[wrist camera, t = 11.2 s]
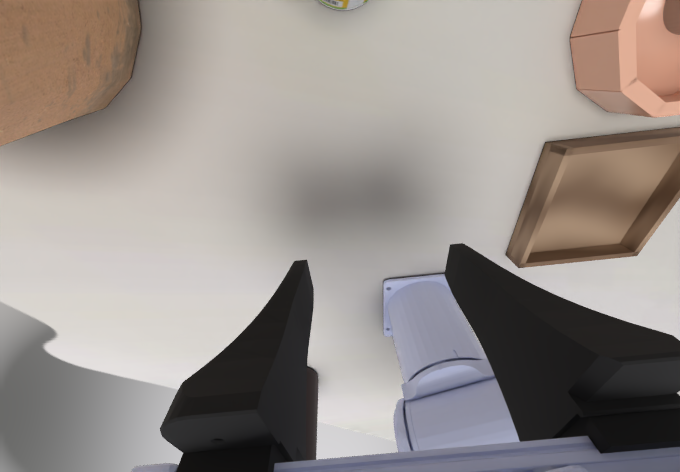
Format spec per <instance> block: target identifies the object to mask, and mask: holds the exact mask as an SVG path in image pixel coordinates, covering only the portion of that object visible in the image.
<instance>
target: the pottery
mask: <svg viewBox="0 0 680 472" xmlns="http://www.w3.org/2000/svg"><path fill="white" fill-rule="evenodd" d="M140 32H141V24H140V16H139V9H138V1H137V0H0V146H2V145H4V144H7V143H10V142H12V141H15V140H18V139H20V138H23V137H26V136H28V135H31V134H34V133H36V132H39V131H42V130H44V129H47V128H50V127H52V126H55V125H58V124H60V123H63V122H65V121H68V120H71V119H74V118H77V117H80V116H83V115H86V114H89V113H92V112H95V111H98V110H101V109H104V108H106V106H107V105H108V104H109V103H110V102H111V101H112V99H113V98H114V97H115V96H116V95H117V94H118V92H119V91H120V90H121V89H122V88H123V86H124V85H125V84H126V83H127V82H128V81H129V79H130V78H131V74H132V69H133V64H134V60H135V55H136V50H137V46H138V41H139V36H140Z"/></svg>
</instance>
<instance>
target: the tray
mask: <svg viewBox="0 0 680 472" xmlns="http://www.w3.org/2000/svg"><path fill="white" fill-rule="evenodd" d="M679 198H680V127H676V128H667V129H658V130H649V131H640V132H632V133H623V134H614V135H605V136H596V137H587V138H579V139H570V140H561V141H552V142H545V145H544V148H543V151H542V153H541V156H540V159H539V162H538V165H537V168H536V170H535V173H534V176H533V179H532V182H531V185H530V187H529V190H528V193H527V196H526V199H525V202H524V204H523V207H522V210H521V213H520V216H519V219H518V221H517V224H516V227H515V230H514V233H513V236H512V238H511V241H510V244H509V247H508V250H507V252H506V256H507V257H508V258H509V259H510V260H511V261H512V262H513V263H514V264H515V265H516V266H517V267H518V268H524V267H533V266H543V265H553V264H563V263H572V262H582V261H592V260H602V259H611V258H621V257H631V256H637V255H638V254H639V252H640V251H641V250H642V248H643V247H644V246H645V244H646V243H647V241H648V240H649V239H650V237H651V236H652V235H653V233H654V232H655V231H656V229H657V228H658V227H659V225H660V224H661V222H662V221H663V220H664V218H665V217H666V216H667V214H668V213H669V212H670V210H671V209H672V208H673V206H674V205H675V203H676V202H677V201H678V199H679Z"/></svg>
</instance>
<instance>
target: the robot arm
mask: <svg viewBox="0 0 680 472" xmlns="http://www.w3.org/2000/svg"><path fill="white" fill-rule="evenodd" d="M387 287H389V288H387ZM455 299H456V301H457V303H458V305H459V306H460V308H461V310H462V312H463V313H464V315H465V317H466V318H467V320H468V322H469V323H470V325H471V327H472V328H473V330H474V332H475V334H476V336H477V338H478V339H479V341H480V343H481V345H480V343H479V342H478V340H477V338H476V336H475V335H474V333H473V331H472V329H471V328H470V326H469V324H468V322H467V320H466V319H465V317H464V315H463V313H462V312H461V310H460V308H459V306H458V305H457V303H456V301H455ZM312 314H313V284H312V280H311V276H310V271H309V267H308V262H307V260H300V261H295V262H294V263H293V264H292V266H291V268H290V270H289V271H288V273H287V275H286V276H285V278H284V280H283V281H282V283H281V284H280V286H279V287H278V289H277V290H276V292H275V293H274V295H273V296H272V298H271V299H270V300H269V302H268V303H267V304H266V306H265V307H264V308H263V309H262V311H261V312H260V313H259V314H258V316H257V317H256V318H255V319H254V320H253V321H252V322H251V324H250V325H249V326H248V327H247V328H246V329H245V330H244V331H243V332H242V333H241V334H240V335H239V336H238V337H237V338H236V339H235V340H234V341H233V342H232V343H231V344H230V345H229V346H227V347H226V348H225V349H224V350H223V351H222V352H221V353H220V354H218V355H217V356H216V357H215V358H214V359H212V360H211V361H210V362H209V363H208V364H206V365H205V366H204V367H202V368H201V369H200V370H199V371H197V372H196V373H195V374H193V375H192V376H191V377H189V378H188V379H187V380H185V381H184V382H183V383H182V385H181V386H180V388H179V390H178V392H177V394H176V396H175V398H174V400H173V402H172V404H171V406H170V409H169V411H168V413H167V415H166V417H165V419H164V422H163V424H162V426H161V428H160V431H161V434H162V436H163V437H164V438H165V439H166V440H167V441H168V442H170V443H171V444H172V445H173V446H175V447H176V448H178V449H179V450H180V451H182V452H183V455H182V458H181V461H180V463H179V465H177V464H170V463H166V464H154V465H143V466H136V467H134V468H133V469H132V471H131V472H680V396H679V395H678V394H677V392H678V391H680V341H679V340H678V339H677V338H675V337H674V336H672V335H669V334H666V333H663V332H659V331H656V330H652V329H649V328H646V327H642V326H639V325H636V324H632V323H629V322H626V321H623V320H620V319H617V318H614V317H611V316H608V315H605V314H602V313H599V312H597V311H594V310H591V309H589V308H586V307H583V306H581V305H578V304H576V303H573V302H571V301H568V300H566V299H563V298H561V297H559V296H557V295H554V294H552V293H550V292H548V291H546V290H544V289H541V288H539V287H537V286H535V285H533V284H531V283H529V282H527V281H525V280H524V279H522V278H520V277H518V276H516V275H514V274H512V273H511V272H509V271H507V270H506V269H504V268H502V267H500V266H499V265H497V264H495V263H494V262H492V261H491V260H489V259H487V258H486V257H484V256H483V255H481V254H479V253H478V252H476V251H475V250H473V249H471V248H470V247H468V246H466V245H465V244H463V243H462V244H452V245H450V248H449V254H448V259H447V264H446V270H445V274H438V275H428V276H419V277H409V278H399V279H389V280H386V281H384V283H383V333H384V335H385V336H393V340H394V344H395V348H396V352H397V356H398V360H399V364H400V369H401V373H402V377H403V380H404V383H405V384H402V385H401V387H402V391H403V395H404V398H402V399H399V400H398V402H397V404H396V409H395V411H394V431H395V438H396V443H397V447H398V453H387V454H376V455H364V456H352V457H341V458H330V459H319V460H307V461H306V388H307V356H308V346H309V338H310V330H311V322H312ZM481 346H482V347H481ZM482 348H483V349H482Z"/></svg>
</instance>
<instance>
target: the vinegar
mask: <svg viewBox="0 0 680 472" xmlns="http://www.w3.org/2000/svg"><path fill="white" fill-rule="evenodd" d="M317 410H318V375H317V374H316V372H315V371H314V370H312V369H310V368H308V367H307V388H306V461H307V460H316V442H317V441H316V440H317Z"/></svg>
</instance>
